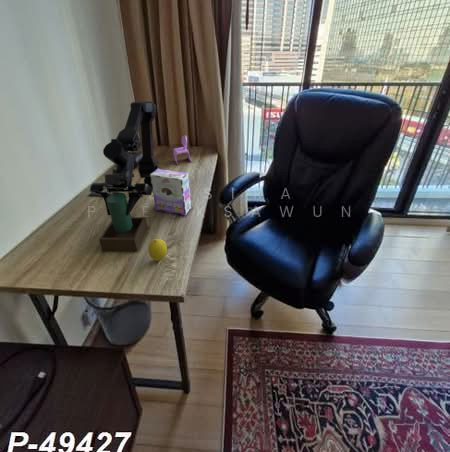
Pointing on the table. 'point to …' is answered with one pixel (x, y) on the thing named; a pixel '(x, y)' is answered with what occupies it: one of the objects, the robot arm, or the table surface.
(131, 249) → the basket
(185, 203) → the candy box
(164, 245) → the lemon
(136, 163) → the end cap
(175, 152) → the toy chair
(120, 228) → the tea tin
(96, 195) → the mat
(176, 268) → the table surface
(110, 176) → the robot arm
